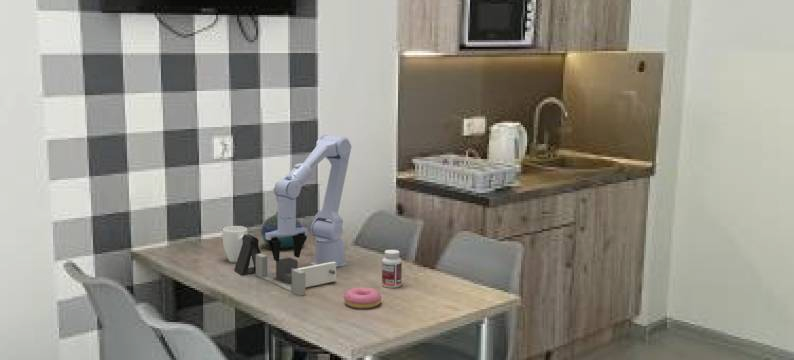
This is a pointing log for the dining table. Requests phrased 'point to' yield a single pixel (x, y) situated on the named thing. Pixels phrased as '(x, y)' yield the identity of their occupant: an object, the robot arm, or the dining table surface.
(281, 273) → the dark grey block
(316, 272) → the door
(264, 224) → the vase
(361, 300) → the doughnut
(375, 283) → the dining table surface
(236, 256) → the mug
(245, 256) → the phone stand
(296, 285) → the grey u-shaped bar
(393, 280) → the pill bottle
